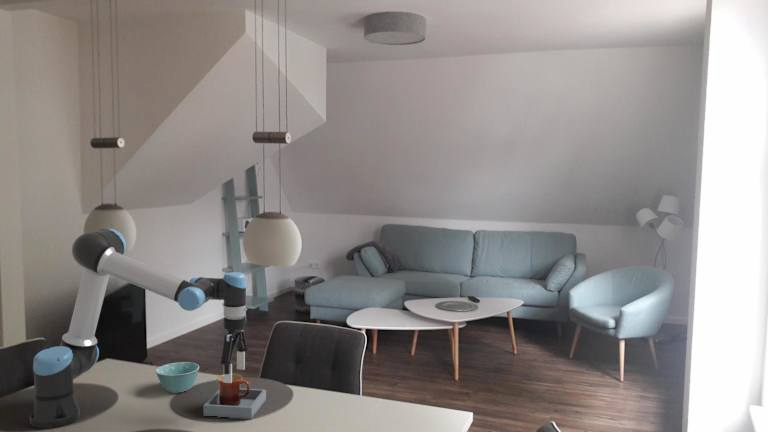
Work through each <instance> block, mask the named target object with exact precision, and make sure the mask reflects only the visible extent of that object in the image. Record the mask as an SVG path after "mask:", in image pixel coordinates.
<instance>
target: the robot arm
mask: <svg viewBox="0 0 768 432" xmlns="http://www.w3.org/2000/svg"><path fill="white" fill-rule="evenodd" d="M126 250H127V242H126V239H125V237H124V236H123V234H122V233H120V232H119V231H118V230H116V229H113V228H101V229H98V230H95V231H90V232H85V233H83V234H81V235H79V236H78V237H76V239H75V240H74V241H73V244H72V248H71V255H72V257H73V259H74V261H75V262H76V263H77V264H79V266H80V267H82V268H83V272H82V275H81V280H80V284H79V286H78V287H79V288H78V291H77V296H76V300H75V304H74V309H73V313H72V315H71V320H70V324H69V328H68V331H67V332H66V333H64V334H63V335H62V336H61V341H60V344H59V346H57V345H56V346H53V347H52V346H51V347H49V348H45V349H42V350H41V351H39V352H38V353H36V355H34V357H33V364H32V370H33V371H32V372H33V383H34V385H33V386H34V387H33V388H34V403H33V405H32V408H31V411H30V413H29V414H30V415H29V424H31V425H32V427H33V428H36V429H37V428H38V429H51V428H58V427H64V426H67V425H69V424H72V423H74V422H75V421H77V420H79V418H81V408H80V406H79V404H78V401H77V399H76V396H75V391H74V380H75V379H77V378H78V377H79V376H81V375H83V374H85V373H87V372H88V371H89V370H91V369H92V368H93V367H94V366H95V364H96V363H97V362H98V359H99V355H100V349H99V347H98V345H97V344H98V339H97V338H96V336H95V335H96V330H97V326H98V324H99V323H98V322H99V318H100V315H101V311H102V306H103V304H104V299H105V294H106V292H107V291H106V290H107V288H108V287H107V286H108V283H109V279H110V276H112V277H114V278H117V279H119V280H122V281H124V282H127V283H128V284H131V285H135V286H136V287H139V288H141V289H144V290H147V291H149V292H151V293H154V294H156V295H159V296H161V297H164V298H167V299H169V300H171V301H174V302H175V303H178V305H179V306H180V308H181V309H182V310H185V311H188V312H190V311H191V312H192V311H195V310H197V309H200V308H201V307H202V306H203V305H204V304H205V303H207V302H208V301H211V300H218V301H223V329H225V330H227V331H228V332H227V334H225V335H224V339H223V347H222V352H221V353H222V355H221V358H220V359H221V360H220V365H223V374H222V375H223V383H232V373H233V363H232V359H233V356H234V352H235V347H236V349H237V352H236V370H242V371H244V370H246V369H245V368H246V367H245V366H246V364H245V363H246V361H245V358H246V356H245V355H246V353H245V352H247V351H248V343H247V339H246V333H245V329H246V325H247V324H246V323H247V321H246V319H247V318H246V315H247V314H246V311H248V308H247V307H246V306H247V302H246V301H247V281H246V280H247V278H246V275H245V273H244V272H239V271H234V272H233V271H230V272H227V273H226V272H225V273H224V274H223V277H222V278H220V277H219V278H218V277H217V278H216V277H215V278H214V277H204V276H203V277H202V276H200V277H199V276H198V277H192V278H190V280H189V281H188V280H185V279H183V278H180V277H178V276H176V275H173V274H170V273H169V272H166V271H164V270H162V269H161V270H160V269H158V268H156V267H153V266H151V265H149V264H146V263H144V262H141V261H139V260H137V259H134V258H132V257H129V256H127V255H125V253H126ZM31 425H30V426H31Z"/></svg>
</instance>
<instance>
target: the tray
mask: <svg viewBox="0 0 768 432" xmlns="http://www.w3.org/2000/svg"><path fill="white" fill-rule="evenodd" d="M240 390H241V394H245V393H246V392H247V388H241V387H240ZM266 401H267V389H259V388H250V392H249V394H248V395H247V396H246V397H244V398H241V401H240V404H239V405H238V406H229V405H220V403H219V389H218V390H217V391H216V392H215V393H214V394H213V395H212V396H211V397H210V398H209V399H208V400H207V401H206V402H205V403H204V404H203V406H202V407H203V417H204V416H218V417H217V418H220V417H229V418H228V419H238V418H239V419H241V420H252V419H253V418H254V417H255V416H256V414H258V412H259V410H260V409H261V408H262V407H263V405H264V404H265V402H266ZM239 419H238V420H239Z"/></svg>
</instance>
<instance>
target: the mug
mask: <svg viewBox="0 0 768 432" xmlns="http://www.w3.org/2000/svg"><path fill="white" fill-rule="evenodd" d="M216 380H217V383H218V388H219V389H218V390H219V403H220V405H229V406H238V405H239V404H240V401H241V398H244V397H246V396H247V395H248V394H249V392H250V389H251V383H250V382H249V381H248V380H247V379H243V375H241V374H239V373H233V372H232V383H223V374H221V375H219V376H217V378H216ZM242 384H245V385H246V389H247V392H246V393H245V394H241V390H240V388H241V386H242Z"/></svg>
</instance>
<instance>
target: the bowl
mask: <svg viewBox="0 0 768 432" xmlns="http://www.w3.org/2000/svg"><path fill="white" fill-rule="evenodd" d="M199 370H200V366H199V364H197V363H195V362H192V361H191V362H190V361H181V362H179V361H178V362H173V363H172V362H171V363H167V364H162V365H161V366H159V367H158V368H156V369H155V374H156V376H157V378H158V380H159V383H160V385H161V387H162V389H163V390H164V391H166V392H167V393H171V394H180V392H181V393H184V391H185V392H188V391H189V390H191V388H193V387H194V384H195V382H196V379H197V376H198V372H199Z"/></svg>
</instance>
